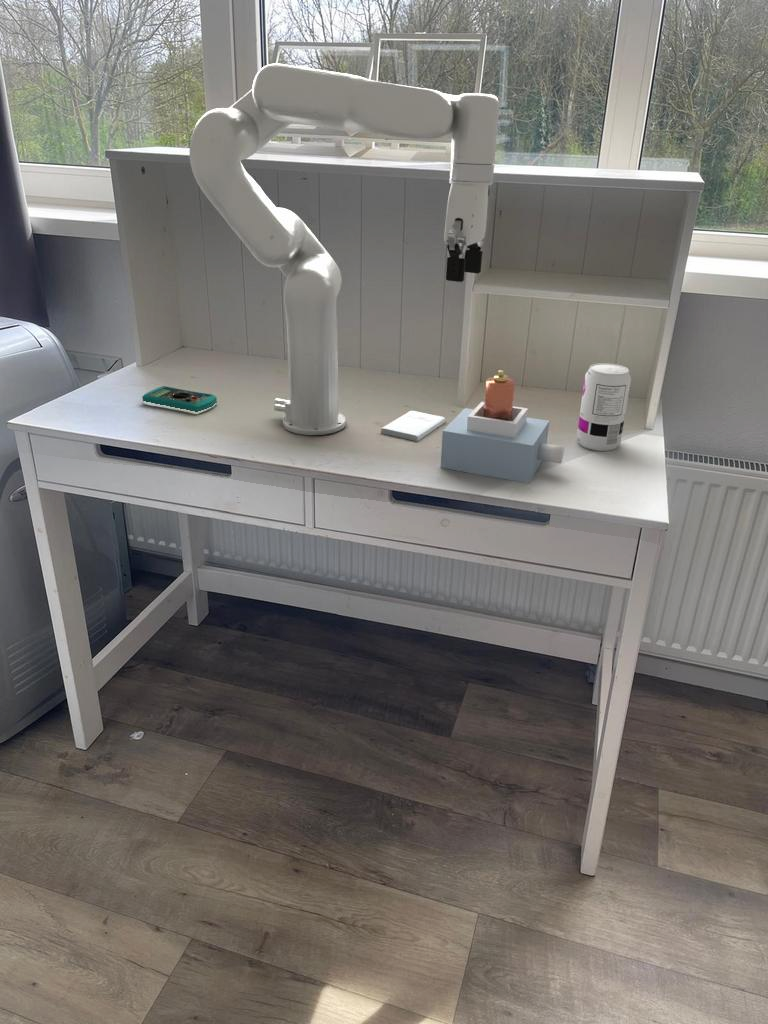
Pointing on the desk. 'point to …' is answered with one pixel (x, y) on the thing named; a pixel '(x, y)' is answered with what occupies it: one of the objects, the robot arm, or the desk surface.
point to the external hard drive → (413, 425)
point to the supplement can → (603, 406)
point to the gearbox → (498, 445)
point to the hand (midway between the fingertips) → (463, 276)
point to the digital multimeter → (180, 398)
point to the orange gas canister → (499, 397)
